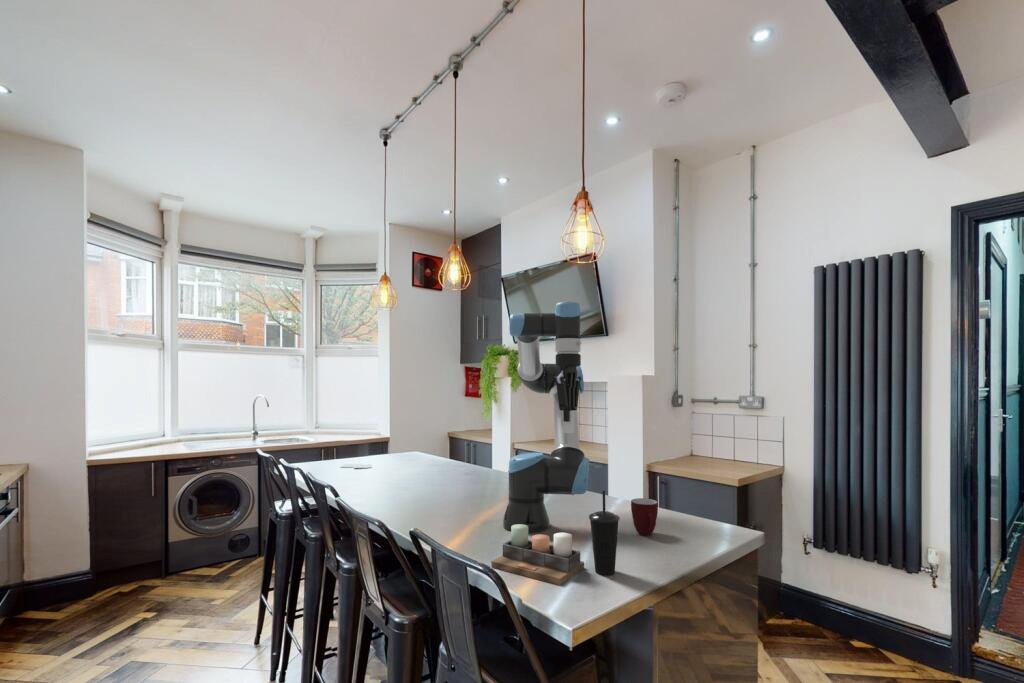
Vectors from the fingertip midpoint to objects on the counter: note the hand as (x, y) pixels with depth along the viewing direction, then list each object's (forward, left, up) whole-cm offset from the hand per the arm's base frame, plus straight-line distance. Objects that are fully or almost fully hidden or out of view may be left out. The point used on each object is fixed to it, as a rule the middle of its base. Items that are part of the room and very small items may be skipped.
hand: (568, 432), depth 149 cm
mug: (+16, +21, -33) cm, 42 cm away
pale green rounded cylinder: (-5, -19, -29) cm, 35 cm away
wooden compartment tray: (+1, -21, -32) cm, 38 cm away
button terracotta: (+1, -19, -30) cm, 36 cm away
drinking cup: (+17, -14, -33) cm, 39 cm away
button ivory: (+8, -19, -29) cm, 35 cm away
